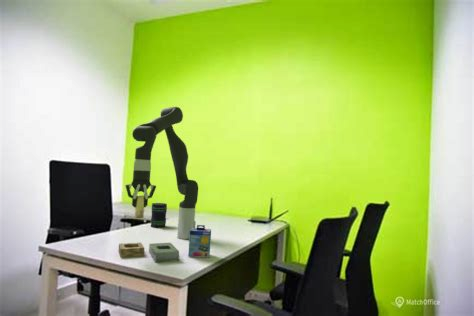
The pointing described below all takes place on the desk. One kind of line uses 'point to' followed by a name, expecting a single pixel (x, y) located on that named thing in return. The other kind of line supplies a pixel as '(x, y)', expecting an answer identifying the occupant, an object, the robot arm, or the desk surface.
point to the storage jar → (158, 215)
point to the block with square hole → (163, 252)
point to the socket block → (131, 249)
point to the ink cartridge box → (199, 242)
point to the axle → (139, 206)
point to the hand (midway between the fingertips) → (139, 206)
